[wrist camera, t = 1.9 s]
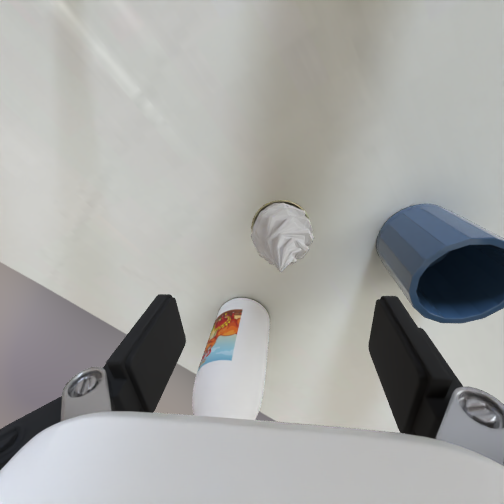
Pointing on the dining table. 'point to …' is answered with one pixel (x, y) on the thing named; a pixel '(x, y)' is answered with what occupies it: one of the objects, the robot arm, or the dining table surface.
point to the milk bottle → (234, 363)
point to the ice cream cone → (281, 233)
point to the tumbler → (444, 263)
